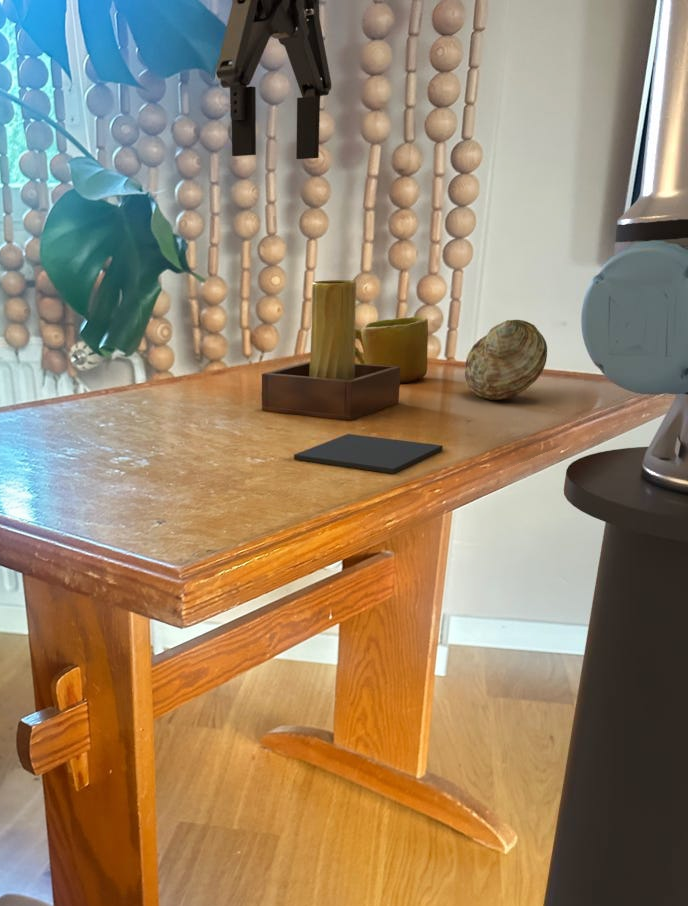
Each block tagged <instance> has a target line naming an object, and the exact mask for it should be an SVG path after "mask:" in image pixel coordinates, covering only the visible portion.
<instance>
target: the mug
mask: <svg viewBox="0 0 688 906" xmlns="http://www.w3.org/2000/svg"><path fill="white" fill-rule="evenodd" d="M355 340H359V343H360V345H361V347H362V352H363V353H362V352H361V351H360V350H359V347H357V346H355V359H357V361H358V363H359V364H371V365H385V366H398V367H401V371H400V384H405V383H411V382H413V381H415V380H420V379H423V378H424V377H426V375H427V373H428V347H429V321H428V318H427V317H425V316H411V317H410V316H409V317H398V318H391V319H390V318H389V319H388V318H387V319H382V320H376V321H372V322H369V323H366V324H365V325H364V326H363V327H362V328H360V327H358V326H355Z"/></svg>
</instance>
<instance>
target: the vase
mask: <svg viewBox="0 0 688 906" xmlns="http://www.w3.org/2000/svg"><path fill="white" fill-rule="evenodd" d="M311 285H312V291H311V293H312V294H311V301H312V302H311V328H310V329H311V330H310V354H309V362H310V369H309V377H319V378H330V379H342V380H352V379H355V363H356V357H355V347H356V339H355V327H356V304H357V303H356V297H357V296H356V295H357V281H356V280H351V279H350V280H349V279H340V280H339V279H333V280H332V279H331V280H330V279H329V280H328V279H327V280H317V281H313V282H312V283H311Z"/></svg>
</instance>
